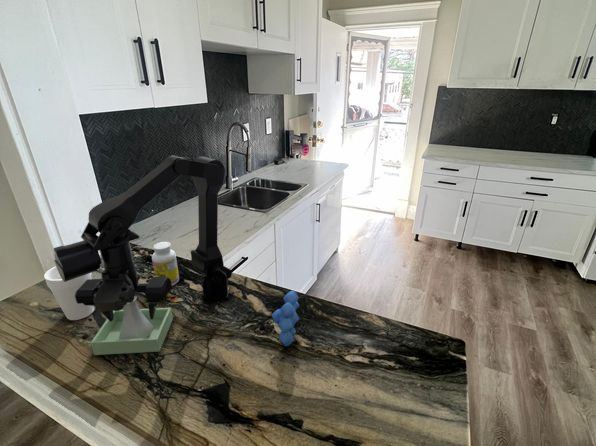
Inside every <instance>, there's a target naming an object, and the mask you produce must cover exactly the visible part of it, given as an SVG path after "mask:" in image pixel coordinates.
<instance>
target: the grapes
mask: <svg viewBox="0 0 596 446" xmlns="http://www.w3.org/2000/svg"><path fill="white" fill-rule="evenodd" d="M282 299H283V301H284V304H283V305H282V306H281V307H280V308H277V309H275V311H274V312H273V313H272V314H271V318H272V320H273V322H274V323H275V324H278V327H279V329H280V330H281V331H280V333H279V334H278V338H279V340H280V341H279V342H281V344H282V345H283V346H284V347H289V346H291V344H292V343H293V342H294V341H295V338H294V336H295V335H296V333H297V330H296V328H295V326H296V324H297V323H298V322H299V321H300V317H299V315H298V313H297V309H298V308H299V307H300V304H299V303H298V302H299V301H298V300H299V299H300V297H299V295H298V294H297V291H295V290H290V291H288V292H287V293H286V294H285V295H284V297H282Z"/></svg>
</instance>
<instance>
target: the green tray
mask: <svg viewBox="0 0 596 446" xmlns="http://www.w3.org/2000/svg"><path fill="white" fill-rule="evenodd" d="M139 309H140V311H141V312H142V313H143V315H144V316H145V317H146V318H147V320H148V321H149V322H150V323H151V324H152V325H153V326H154V327H153V329H152V331H151V334H150V335H149V336H147V337H146V338H141V339H122V340H120V339H119V335H120V331H121V326H122V321H123V316H124V309H122V310H120V311H113V314H114V319H113V321H109V320H108V319H107V318H106V320H105V321H104V323H103V324H102V325H101V327H100V328H99V330H98V331H97V332H96V334H95V336H94V337H93V338H92V339H91V341H90V346H91V349H92V352H93V355H94V356H104V355H105V356H107V355H122V354H140V353H155V352H157V353H158V352H161V349H162V347H163V345H164V342H165V339H166V337H167V335H168V332H169V330H170V327H171V325H172V322H173V319H174V317H173V312H172V311H173V310H172V307H156V311H155V315H154V318H153V319H151V318H150V315H149V308H139Z"/></svg>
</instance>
